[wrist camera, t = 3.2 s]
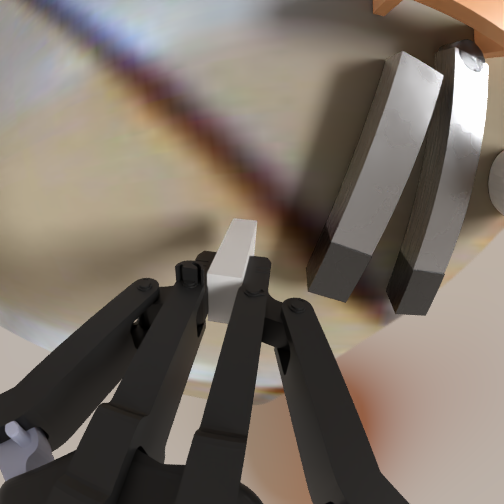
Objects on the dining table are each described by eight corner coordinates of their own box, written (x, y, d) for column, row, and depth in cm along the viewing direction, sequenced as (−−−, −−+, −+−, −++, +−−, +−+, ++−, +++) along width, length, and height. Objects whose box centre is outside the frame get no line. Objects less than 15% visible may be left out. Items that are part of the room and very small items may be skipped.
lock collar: (372, -18, 11) (401, -57, 5) (480, 28, 10) (529, 18, 4) (372, 13, 12) (406, -21, 6) (482, 58, 11) (534, 55, 6)
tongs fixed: (434, 39, 12) (455, 31, 9) (466, 54, 12) (488, 50, 9) (385, 290, 22) (395, 313, 20) (414, 293, 22) (425, 315, 19)
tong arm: (386, 58, 14) (403, 50, 11) (423, 78, 14) (444, 75, 11) (306, 268, 22) (307, 291, 19) (340, 278, 22) (345, 302, 19)
